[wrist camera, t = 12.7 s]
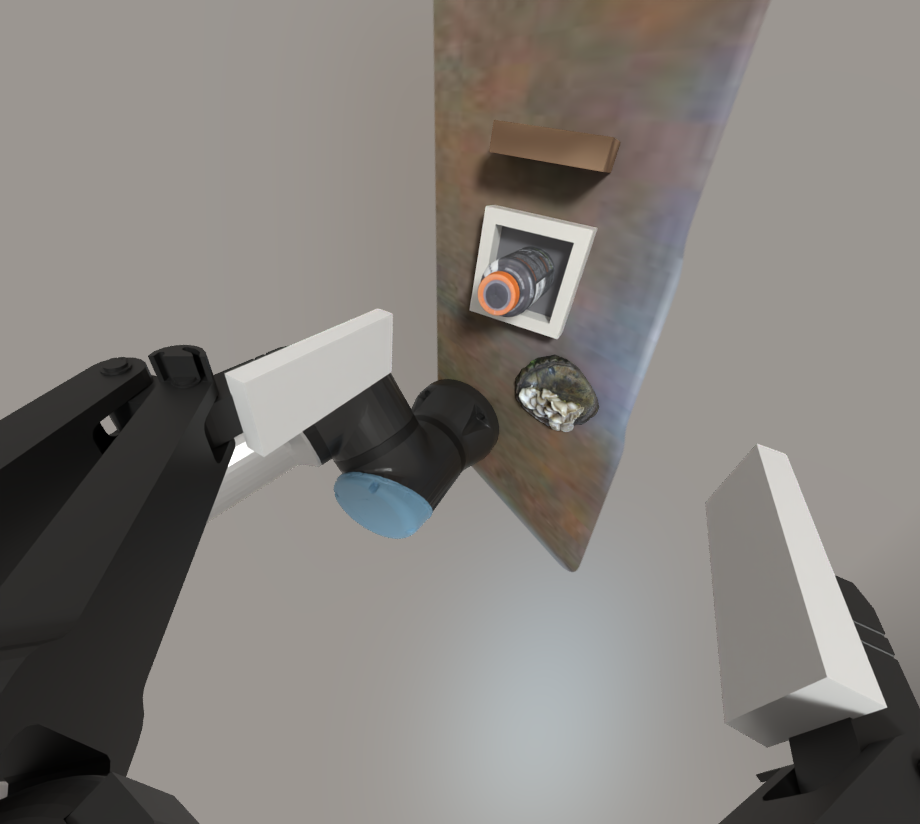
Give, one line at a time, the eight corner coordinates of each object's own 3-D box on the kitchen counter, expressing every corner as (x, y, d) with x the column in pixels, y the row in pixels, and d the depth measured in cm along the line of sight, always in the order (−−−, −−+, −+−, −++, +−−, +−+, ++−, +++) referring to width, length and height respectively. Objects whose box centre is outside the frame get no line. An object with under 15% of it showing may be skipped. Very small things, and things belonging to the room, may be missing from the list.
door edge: (610, 172, 35) (602, 171, 31) (507, 154, 38) (488, 151, 34) (620, 142, 33) (613, 137, 29) (512, 126, 36) (493, 119, 33)
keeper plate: (562, 332, 45) (557, 339, 43) (477, 305, 48) (469, 310, 46) (597, 227, 37) (593, 230, 35) (494, 204, 41) (485, 205, 39)
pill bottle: (501, 256, 43) (459, 274, 35) (548, 237, 40) (513, 252, 31) (516, 303, 45) (479, 331, 37) (561, 289, 42) (532, 317, 33)
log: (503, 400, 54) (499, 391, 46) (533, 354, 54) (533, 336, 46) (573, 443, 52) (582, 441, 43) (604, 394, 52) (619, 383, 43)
